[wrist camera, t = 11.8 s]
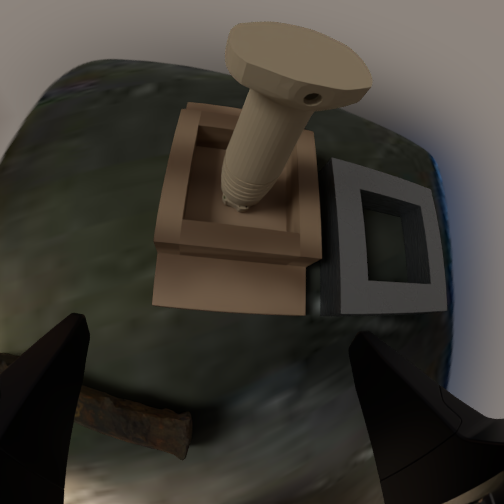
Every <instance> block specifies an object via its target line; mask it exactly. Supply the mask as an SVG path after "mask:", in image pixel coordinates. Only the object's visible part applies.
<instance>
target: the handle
mask: <svg viewBox="0 0 504 504" xmlns="http://www.w3.org/2000/svg"><path fill="white" fill-rule="evenodd" d="M225 62H226V66H227V68H228V70H229V72H230V74H231V75H232V76H233V77H234V78H235V79H236V80H237V81H238V82H239V83H240V84H242V85H244V86H246V87H248V88H250V90H249V93H248V96H247V98H246V101H245V103H244V106H243V109H242V111H241V114H240V117H239V119H238V122H237V124H236V127H235V129H234V132H233V134H232V137H231V139H230V142H229V145H228V147H227V150H226V153H225V157H224V161H223V166H222V174H221V190H222V192H223V196H222V202H223V203H224V205H226V206H227V205H228V206H231V207H233V208H235V209H236V210H237V212H245V211H247V209H248V208H249V207H250V206H252V205H256V204H257V203H258V202H259V201H260V200H261V199H262V198H263V197H264V196H265V195H266V194H267V193H268V191H269V190H270V189H271V188H272V187H273V185H274V184H275V183H276V181H277V179H278V178H279V176H280V175H281V173H282V171H283V169H284V167H285V165H286V163H287V161H288V159H289V157H290V155H291V153H292V151H293V149H294V147H295V145H296V143H297V141H298V139H299V137H300V136H301V134H302V132H303V130H304V128H305V126H306V124H307V123H308V121H309V119H310V117H311V115H312V114H313V113H314V111H321V110H329V109H335V108H340V107H344V106H348V105H351V104H354V103H357V102H358V101H360V100H361V99H362V97H363V96H364V95H365V94H366V93H367V91H368V90H369V89H370V88H371V85H372V77H371V74H370V72H369V70H368V68H367V66H366V65H365V63H364V62H363V60H362V59H361V58H360V57H359V56H358V55H357V54H356V53H355V52H354V51H353V50H352V49H350V48H349V47H348V46H347V45H345V44H343V43H341V42H339V41H337V40H335V39H333V38H330V37H328V36H326V35H324V34H322V33H319V32H317V31H314V30H311V29H307V28H304V27H299V26H295V25H290V24H285V23H278V22H251V23H240V24H237V25H236V26H234V27H233V28H232V29H231V31H230V33H229V36H228V40H227V45H226V51H225Z"/></svg>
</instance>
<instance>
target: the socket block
mask: <svg viewBox="0 0 504 504" xmlns="http://www.w3.org/2000/svg"><path fill="white" fill-rule="evenodd" d="M318 186H319V201H320V218H321V242H322V259H321V260H320V276H321V309H320V316H389V315H413V314H427V313H434V312H441V311H447V298H446V283H445V271H444V262H443V254H442V246H441V239H440V233H439V227H438V222H437V216H436V211H435V206H434V202H433V197H432V193H431V189H428V188H425V187H423V186H420V185H417V184H415V183H412V182H409V181H406V180H404V179H401V178H398V177H395V176H392V175H389V174H386V173H383V172H380V171H377V170H373V169H370V168H367V167H364V166H360V165H357V164H353V163H350V162H346V161H343V160H339V159H335V158H331V159H330V160H329V161H328V162H327V163H326V164H325V166H324V167H323V168H322V169H321V170H320V171H319V173H318ZM362 208H364V209H369V210H373V211H377V212H382V213H386V214H390V215H394V216H398V217H401V220H402V227H403V235H404V243H405V252H406V262H407V274H408V283H400V282H383V281H368V268H367V252H366V239H365V228H364V219H363V210H362Z"/></svg>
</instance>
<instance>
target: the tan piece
mask: <svg viewBox="0 0 504 504" xmlns="http://www.w3.org/2000/svg"><path fill="white" fill-rule="evenodd" d="M241 111H242V109H237V108H231V107H224V106H217V105H210V104H201V103H192V102H188V104H187V108H186V109H181V113H180V116H179V120H178V124H177V128H176V131H175V135H174V139H173V143H172V148H171V152H170V156H169V160H168V165H167V169H166V174H165V179H164V184H163V189H162V194H161V199H160V205H159V210H158V216H157V222H156V228H155V235H154V244H155V247H156V249H157V252H158V255H157V263H156V271H155V281H154V291H153V302H152V305H153V306H159V307H169V308H179V309H189V310H201V311H213V312H227V313H243V314H262V315H288V316H303V315H305V305H306V267H307V266H309V265H311V264H313V263H315V262H317V261H319V260H321V259H322V242H321V218H320V201H319V186H318V173H317V161H316V151H315V141H314V132H312V131H308V130H303V132H302V134H301V136H300V137H299V139H298V141H297V143H296V145H295V147H294V149H293V151H292V153H291V155H290V157H289V159H288V161H287V163H286V165H285V167H284V169H283V171H282V173H281V175H280V176H279V178H278V179H277V181H276V183H275V184H274V185H273V187H272V188H271V189H270V190H269V191H268V193H267V194H266V195H265V196H264V197H263V198H262V199H261V200H260V201H259V202H258V203H257V204H256V205H252V206H250V207H249V208H248V209H247V211H245V212H237V210H236V209H235V208H233V207H231V206H228V205H227V206H226V205H224V203H223V202H222V196H223V192H222V190H221V174H222V166H223V161H224V157H225V153H226V150H227V147H228V145H229V142H230V139H231V137H232V134H233V132H234V129H235V127H236V124H237V122H238V119H239V117H240V114H241Z"/></svg>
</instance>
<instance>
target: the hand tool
mask: <svg viewBox="0 0 504 504" xmlns="http://www.w3.org/2000/svg"><path fill="white" fill-rule="evenodd" d="M18 357H19V356H14V355H10V354H5V353H0V374H1V373H2V372H3V371H4V370H5V369H6V368H7V367H8V366H9V365H11V364H12V363H13V362H14V361H15V360H16V359H17V358H18ZM74 422H76V423H78V424H80V425H82V426H84V427H87V428H89V429H92V430H95V431H97V432H100V433H102V434H106V435H109V436H111V437H114V438H117V439H120V440H123V441H126V442H130V443H133V444H137V445H141V446H145V447H148V448H152V449H157V450H161V451H164V452H167V453H171V454H174V455H175V456H176V457H177V458H179V459H180V460H184V459H185V458H186V455H187V452H188V448H189V445H190V442H191V439H192V425H193V421H192V416H191V414H190V412H188V411H187V412H183V413H181V414H178V413H175V412H174V411H172V410H170V409H167V408H165V409H162V410H161V409H156V408H153V407H150V406H146V405H144V404H141V403H138V402H133V401H131V400H127V399H120V398H117V397H114V396H111V395H109V394H107V393H106V392H101V391H98V390H95V389H92V388H89V387H86V386H84V385H82V387H81V391H80V395H79V399H78V403H77V408H76V413H75V417H74Z"/></svg>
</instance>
